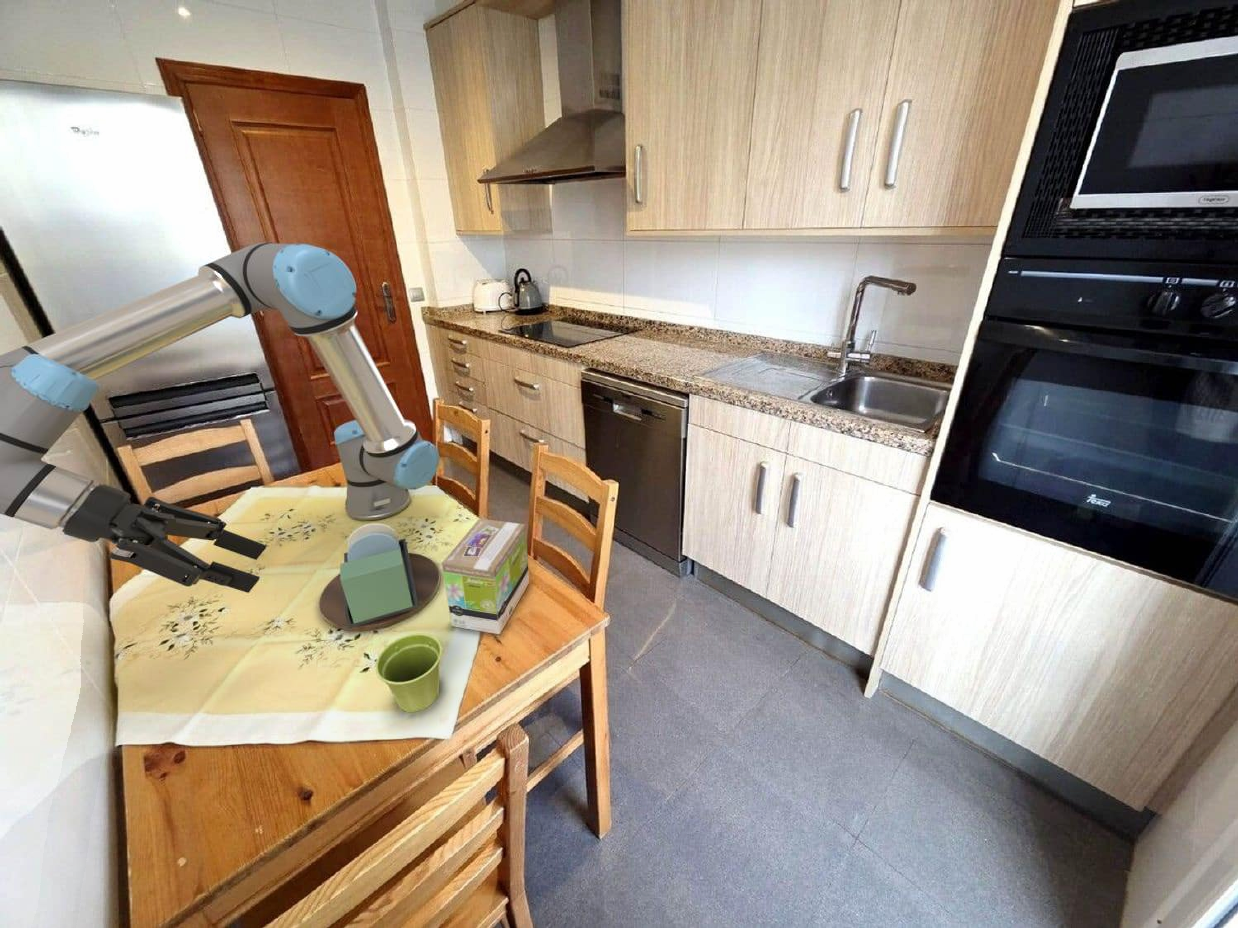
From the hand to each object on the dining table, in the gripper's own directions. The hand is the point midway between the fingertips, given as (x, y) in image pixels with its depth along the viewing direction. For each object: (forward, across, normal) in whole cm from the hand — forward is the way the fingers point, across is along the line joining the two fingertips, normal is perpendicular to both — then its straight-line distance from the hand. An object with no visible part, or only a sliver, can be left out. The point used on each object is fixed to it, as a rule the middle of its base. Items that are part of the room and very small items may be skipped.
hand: (257, 568), depth 81 cm
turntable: (+23, -8, 0) cm, 24 cm away
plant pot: (+26, +22, +2) cm, 34 cm away
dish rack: (+22, -7, 0) cm, 23 cm away
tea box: (+37, +6, +13) cm, 39 cm away
